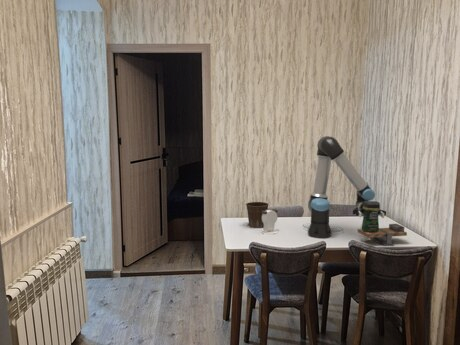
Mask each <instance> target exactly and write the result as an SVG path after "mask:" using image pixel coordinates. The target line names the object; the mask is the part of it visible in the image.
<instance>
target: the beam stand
mask: <svg viewBox="0 0 460 345" xmlns="http://www.w3.org/2000/svg"><path fill="white" fill-rule="evenodd" d="M369 239H370V240H372V241H374V242H376V243H378V244H379V245H382V246H383V247H389V246H390V247H391V246H392V247H394V246H395V245H394V243H393V242H392V241H393V236H392V233H387V234H386V237H375V238H369Z"/></svg>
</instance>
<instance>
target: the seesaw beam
mask: <svg viewBox="0 0 460 345" xmlns="http://www.w3.org/2000/svg"><path fill="white" fill-rule="evenodd" d="M387 233H392V237H407V236H408V235H407V234H408V232H406V231H405V226H403V225H401V224H399V223H389V224H388V227H382V228H381V227H379V231H378V232H366V231H363V230H362V228H358V229H357V234H359V235H361V236H363V237H365V238H367V239H370V238H375V237H386V234H387Z"/></svg>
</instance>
